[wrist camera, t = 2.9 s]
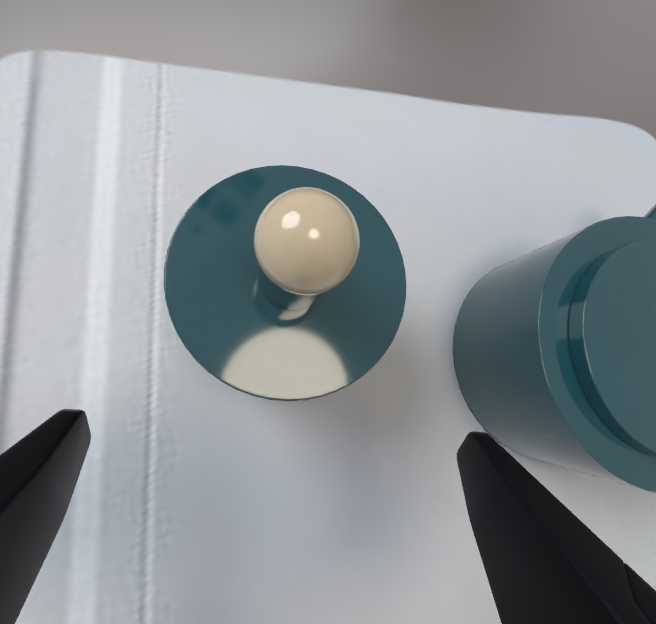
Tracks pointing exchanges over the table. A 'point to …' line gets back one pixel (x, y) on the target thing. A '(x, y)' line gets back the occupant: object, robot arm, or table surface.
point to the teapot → (569, 351)
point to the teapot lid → (284, 283)
